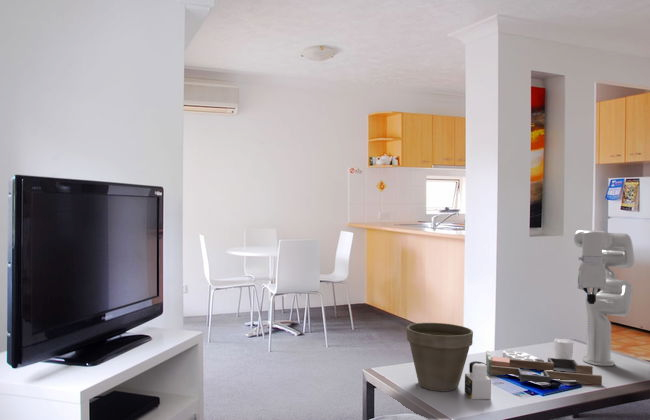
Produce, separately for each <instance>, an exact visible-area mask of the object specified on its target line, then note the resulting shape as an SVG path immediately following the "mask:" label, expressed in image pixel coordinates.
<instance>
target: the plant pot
mask: <svg viewBox="0 0 650 420" xmlns="http://www.w3.org/2000/svg"><path fill="white" fill-rule="evenodd" d="M473 337H474V331H473V330H472V329H471V328H469V327H465V326H463V325H458V324H452V323H443V322H440V323H439V322H417V323H412V324H408V325H407V326H406V340H407V341H408V342H409V345H410V351H411V355H412V361H413V364H414V369H415V373H416V377H417V381H418V384H419V386H420V387H422V388H425V389H426V390H429V391H430V390H431V391H436V392H451V391H456V390H457V389H458V387H459V386H460V382H461V378H462V376H463V371H464V368H465V365H466V361H467V357H468V353H469V351H470V347H471V346H473Z"/></svg>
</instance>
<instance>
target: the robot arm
mask: <svg viewBox="0 0 650 420" xmlns="http://www.w3.org/2000/svg"><path fill="white" fill-rule="evenodd" d="M573 241H574V244H575V246H576V247H578V248H582V251H581V252H582V253H581V254H582V255H581V256H578V261H581V262H580V264H579V268H578V277H577V284H578V285H577V289H578V290H582V291H584V292H585V293H586V297H585V306H586V307H585V308H586V313H587V323H586V324H587V328H586V329H587V330H586V332H587V336H586V355H585V356H583V357H582V361H583V362H584V363H587V364H590V365H592V366H593V365H594V366H599V367H611V366H612V367H613V366H614V365H615V361H614V360H612V359H611V358H612V357H611V356H612V354H611V353H612V323H611V321H610V320H609V318H608V317H607V316H606V315H608V316H616V317H627V316H628V315H629V313H630V309H631V307H632V306H631V305H632V300H633V295H634V293H633V292H634V291H633V290H634V289H633V285H632V283H631V282H630V281H628V280H624V279H618V278H617V274H616V273H615V272H614V271H613V270H612V269H611V268H619V269H620V268H621V269H630V268H632V267H634V264H635V254H634V246H633V242H632V238H631V236H630V235H629V234H628V233H622V232H608V231H606V230H589V229H578V230H577V231H576V232H575V233H574V235H573ZM591 288H592V291H591Z"/></svg>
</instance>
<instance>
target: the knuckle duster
mask: <svg viewBox="0 0 650 420" xmlns="http://www.w3.org/2000/svg"><path fill="white" fill-rule="evenodd" d="M502 358H510V359H517V360H528V361H540V362H545V360H544V359H542V358H541V357H536V356H535V355H533V354H530V353H527V352H525V351H514V350H503V351H502Z"/></svg>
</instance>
